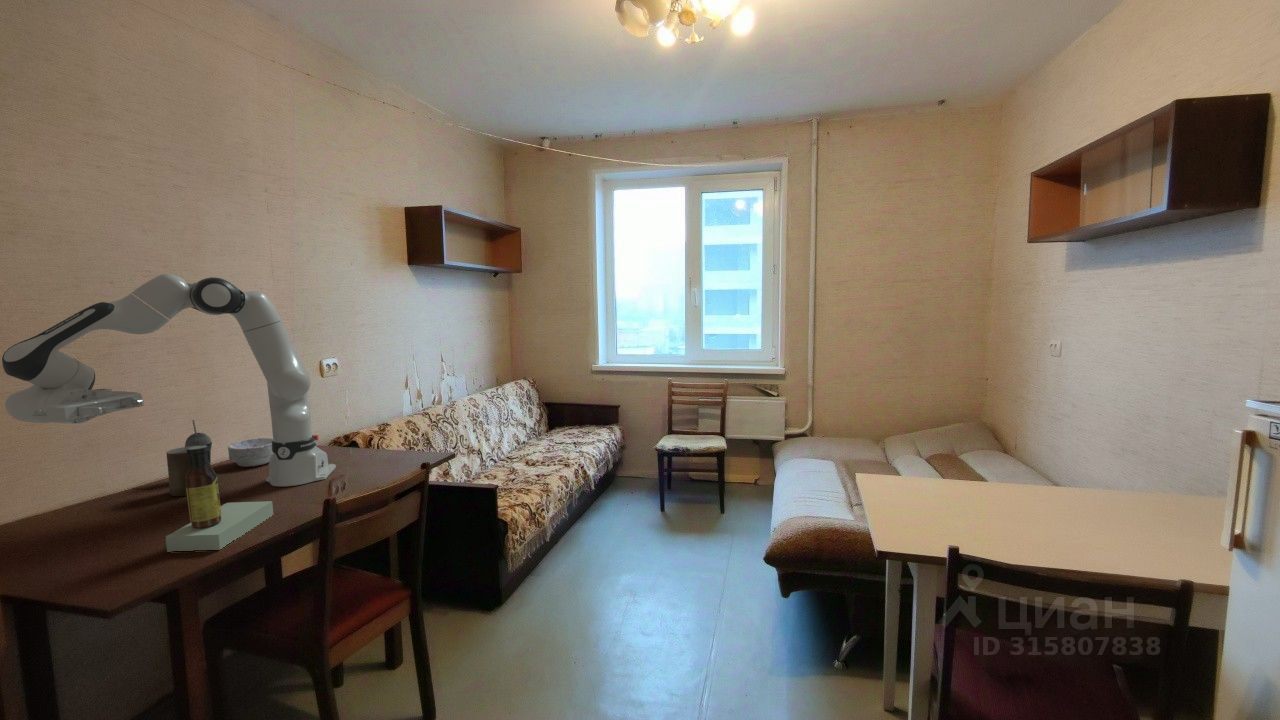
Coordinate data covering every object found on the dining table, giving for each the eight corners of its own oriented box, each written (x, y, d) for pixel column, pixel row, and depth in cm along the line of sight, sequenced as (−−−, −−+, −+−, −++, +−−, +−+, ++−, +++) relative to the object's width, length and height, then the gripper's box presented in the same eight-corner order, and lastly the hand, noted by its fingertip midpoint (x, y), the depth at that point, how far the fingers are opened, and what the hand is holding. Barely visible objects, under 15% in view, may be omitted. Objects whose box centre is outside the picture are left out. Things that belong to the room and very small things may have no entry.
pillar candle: (208, 492, 172) (204, 445, 171) (167, 499, 167) (163, 450, 165) (210, 484, 180) (206, 440, 179) (172, 490, 175) (167, 444, 173)
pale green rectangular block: (228, 516, 153) (227, 502, 152) (273, 514, 154) (272, 501, 153) (167, 552, 131) (165, 536, 131) (220, 550, 132) (218, 534, 131)
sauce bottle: (227, 521, 139) (220, 445, 137) (199, 531, 133) (191, 451, 131) (212, 517, 142) (205, 442, 140) (184, 526, 136) (176, 448, 134)
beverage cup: (200, 481, 183) (194, 423, 181) (182, 480, 184) (176, 422, 182) (220, 474, 190) (215, 418, 188) (203, 473, 191) (198, 417, 189)
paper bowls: (255, 470, 195) (254, 448, 194) (218, 468, 197) (216, 447, 196) (289, 458, 210) (287, 437, 209) (254, 456, 212) (253, 436, 211)
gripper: (23, 401, 131) (76, 402, 129) (113, 387, 151) (159, 387, 150) (27, 427, 131) (79, 428, 130) (115, 410, 152) (161, 410, 150)
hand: (122, 406), depth 140 cm, fingers open, 8 cm apart
